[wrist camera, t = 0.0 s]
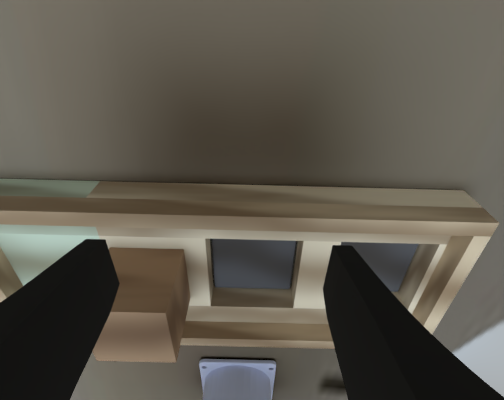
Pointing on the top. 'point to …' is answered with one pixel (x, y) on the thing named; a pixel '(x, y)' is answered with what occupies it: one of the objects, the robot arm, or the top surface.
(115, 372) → the top surface
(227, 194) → the trap track
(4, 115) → the top surface
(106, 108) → the top surface
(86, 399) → the top surface
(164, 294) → the walnut block
